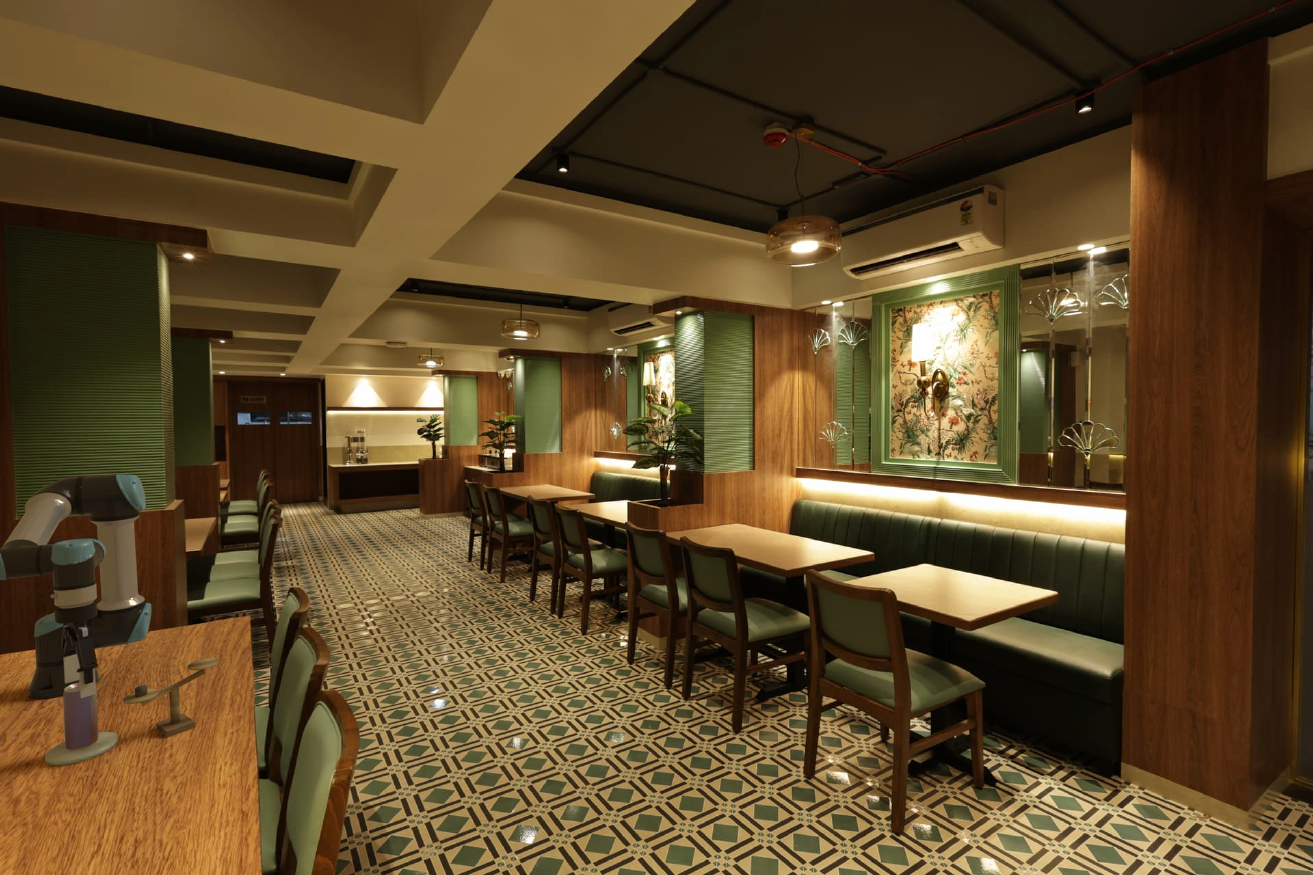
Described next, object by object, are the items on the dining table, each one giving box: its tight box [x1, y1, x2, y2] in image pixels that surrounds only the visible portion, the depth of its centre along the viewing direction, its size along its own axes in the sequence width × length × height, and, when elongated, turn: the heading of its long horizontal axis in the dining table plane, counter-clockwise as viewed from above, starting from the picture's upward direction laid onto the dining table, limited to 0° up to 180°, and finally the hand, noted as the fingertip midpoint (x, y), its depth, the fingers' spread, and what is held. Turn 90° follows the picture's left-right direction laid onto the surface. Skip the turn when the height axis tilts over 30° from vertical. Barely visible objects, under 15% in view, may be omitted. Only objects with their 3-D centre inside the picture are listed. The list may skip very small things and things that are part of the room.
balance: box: [122, 657, 221, 738], centre depth 160 cm, size 8×21×15 cm, turn 145°
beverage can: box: [62, 683, 99, 751], centre depth 150 cm, size 6×6×15 cm
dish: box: [44, 731, 119, 767], centre depth 150 cm, size 13×13×1 cm
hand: (80, 688), depth 149 cm, fingers open, 13 cm apart
